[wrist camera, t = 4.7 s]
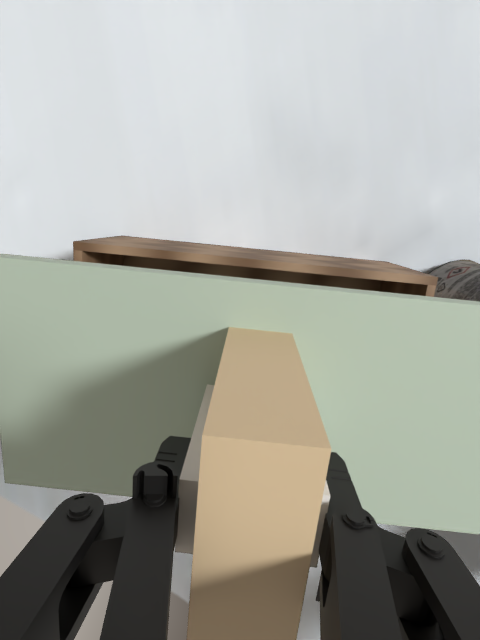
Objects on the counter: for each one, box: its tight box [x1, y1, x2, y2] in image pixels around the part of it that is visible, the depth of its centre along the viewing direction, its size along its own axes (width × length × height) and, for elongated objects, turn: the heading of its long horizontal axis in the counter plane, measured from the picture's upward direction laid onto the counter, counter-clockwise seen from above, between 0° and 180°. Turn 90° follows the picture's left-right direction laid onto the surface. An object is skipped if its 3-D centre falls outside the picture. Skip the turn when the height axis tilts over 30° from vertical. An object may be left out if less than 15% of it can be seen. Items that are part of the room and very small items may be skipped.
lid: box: [0, 254, 480, 640], centre depth 14 cm, size 26×12×10 cm, turn 85°
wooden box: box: [73, 236, 438, 297], centre depth 32 cm, size 26×12×10 cm, turn 85°
